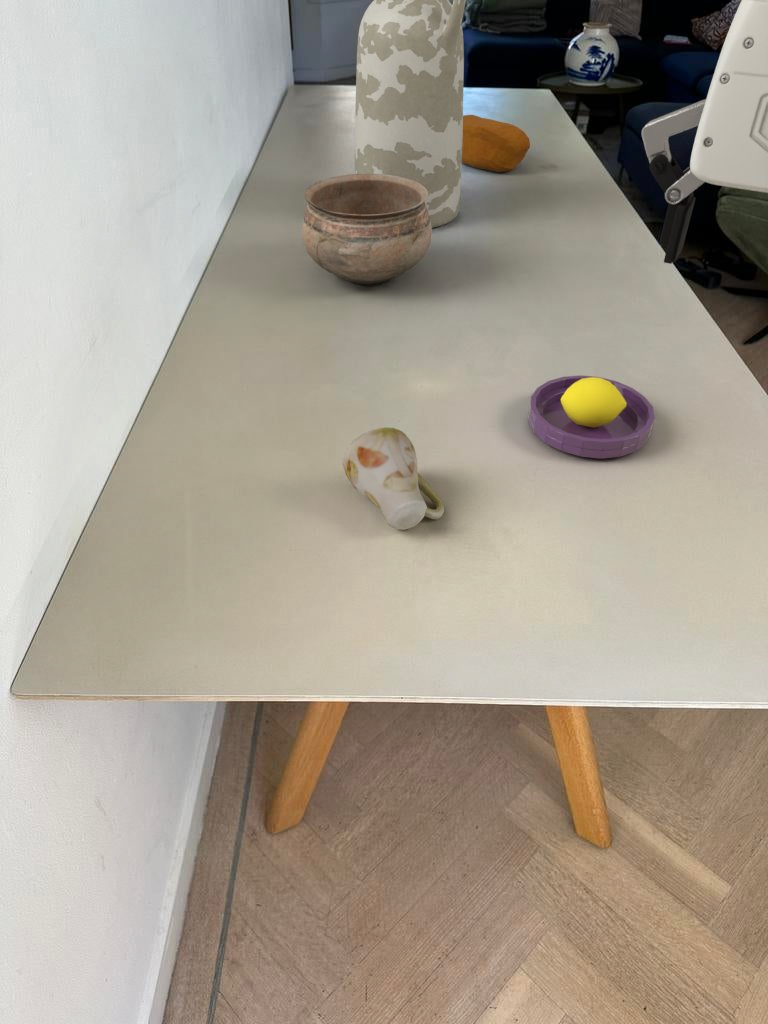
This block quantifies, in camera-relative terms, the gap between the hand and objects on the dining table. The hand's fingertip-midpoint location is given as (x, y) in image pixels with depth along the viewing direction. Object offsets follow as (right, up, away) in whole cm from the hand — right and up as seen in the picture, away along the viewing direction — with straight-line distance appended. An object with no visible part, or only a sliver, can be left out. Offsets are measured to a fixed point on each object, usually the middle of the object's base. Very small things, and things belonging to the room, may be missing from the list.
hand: (743, 269), depth 53 cm
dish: (-2, -7, +32) cm, 33 cm away
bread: (-3, +56, +106) cm, 120 cm away
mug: (-24, -16, +22) cm, 36 cm away
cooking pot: (-28, +19, +62) cm, 71 cm away
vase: (-20, +36, +83) cm, 92 cm away
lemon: (-2, -7, +31) cm, 32 cm away
